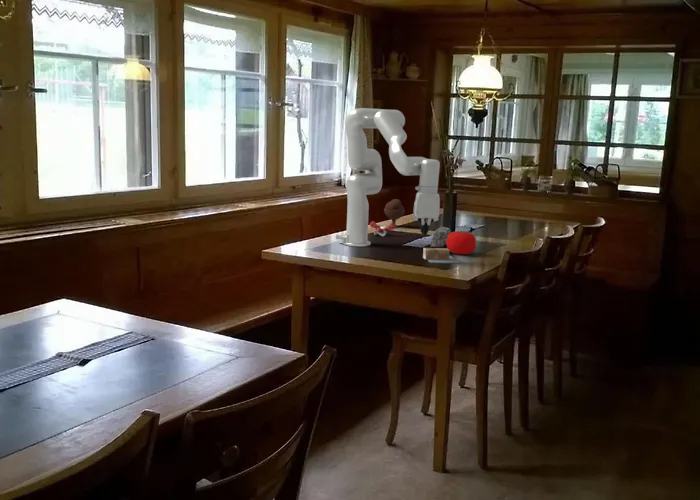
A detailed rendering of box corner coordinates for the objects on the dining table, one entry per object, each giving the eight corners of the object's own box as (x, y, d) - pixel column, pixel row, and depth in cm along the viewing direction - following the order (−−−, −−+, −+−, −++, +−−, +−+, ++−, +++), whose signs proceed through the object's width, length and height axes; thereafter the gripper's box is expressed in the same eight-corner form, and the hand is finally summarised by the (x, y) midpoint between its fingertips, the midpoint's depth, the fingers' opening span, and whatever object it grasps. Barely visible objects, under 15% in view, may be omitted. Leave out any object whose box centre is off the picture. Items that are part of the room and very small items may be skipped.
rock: (437, 248, 326) (441, 226, 326) (421, 245, 331) (425, 223, 330) (453, 250, 340) (456, 228, 339) (437, 247, 344) (440, 225, 343)
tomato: (475, 257, 313) (476, 233, 311) (445, 255, 315) (446, 231, 313) (475, 252, 323) (477, 229, 321) (446, 250, 325) (447, 227, 323)
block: (425, 249, 301) (449, 250, 302) (423, 247, 305) (447, 248, 306) (425, 259, 302) (448, 259, 303) (422, 257, 306) (446, 257, 307)
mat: (430, 263, 297) (430, 262, 297) (422, 255, 311) (422, 255, 311) (459, 263, 299) (459, 262, 299) (450, 256, 312) (450, 255, 312)
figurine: (360, 234, 356) (361, 221, 355) (372, 231, 366) (373, 218, 365) (388, 238, 348) (388, 224, 347) (399, 235, 358) (400, 222, 357)
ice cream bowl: (407, 227, 384) (409, 198, 381) (397, 229, 375) (398, 200, 372) (389, 225, 389) (391, 196, 386) (379, 227, 380) (380, 198, 377)
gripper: (411, 190, 294) (408, 235, 298) (448, 192, 296) (444, 236, 300) (408, 187, 301) (404, 231, 305) (443, 189, 303) (439, 233, 307)
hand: (424, 234), depth 302 cm, fingers closed
